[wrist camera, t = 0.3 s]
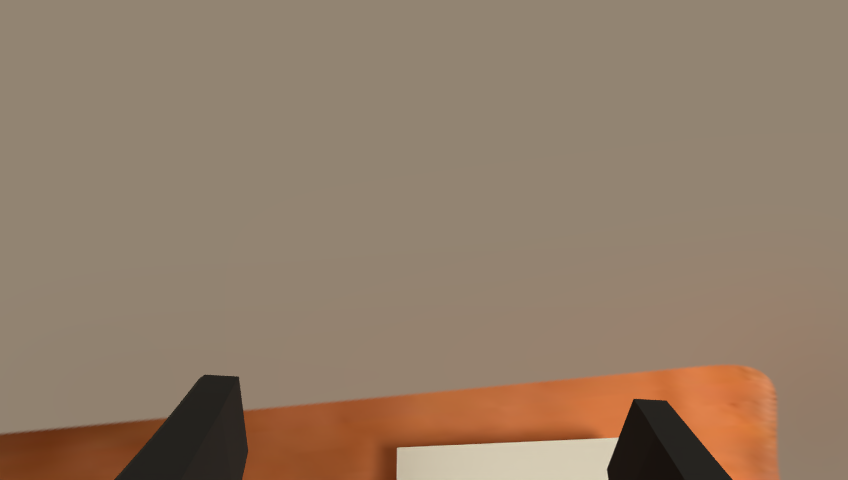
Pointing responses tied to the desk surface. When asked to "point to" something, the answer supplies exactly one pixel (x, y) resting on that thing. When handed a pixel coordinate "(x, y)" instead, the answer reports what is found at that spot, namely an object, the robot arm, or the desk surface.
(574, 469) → the dock board
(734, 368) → the desk surface
